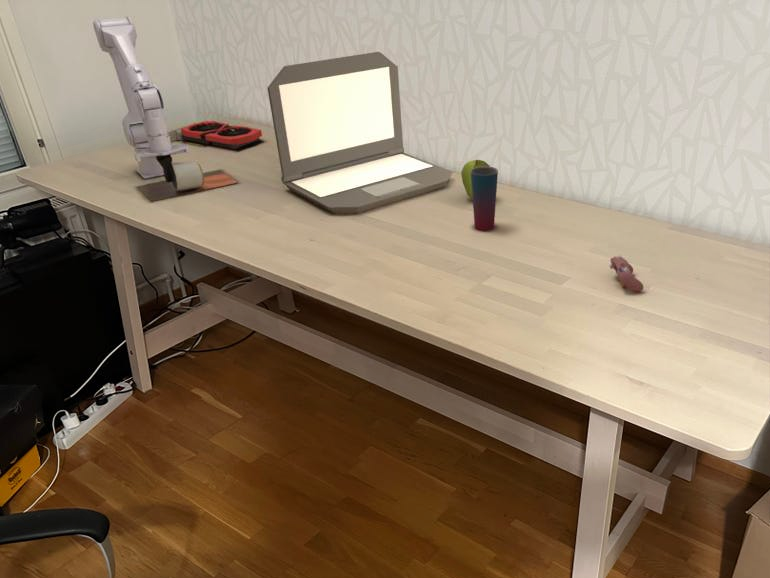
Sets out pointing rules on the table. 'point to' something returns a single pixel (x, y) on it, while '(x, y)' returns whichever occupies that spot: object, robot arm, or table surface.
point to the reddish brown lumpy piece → (625, 274)
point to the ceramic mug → (186, 175)
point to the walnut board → (167, 190)
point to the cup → (484, 196)
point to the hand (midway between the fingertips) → (169, 181)
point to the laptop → (346, 134)
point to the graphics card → (217, 135)
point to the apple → (467, 174)
